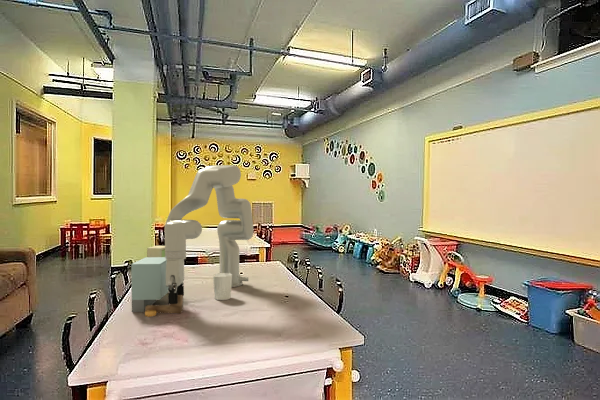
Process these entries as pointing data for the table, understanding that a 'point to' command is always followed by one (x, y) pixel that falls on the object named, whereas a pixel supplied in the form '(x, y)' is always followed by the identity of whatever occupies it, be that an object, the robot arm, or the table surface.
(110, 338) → the table surface
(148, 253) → the toy refrigerator
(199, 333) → the table surface
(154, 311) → the orange round disc
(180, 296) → the brown boxy piece
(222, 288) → the white cup
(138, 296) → the cabinet
